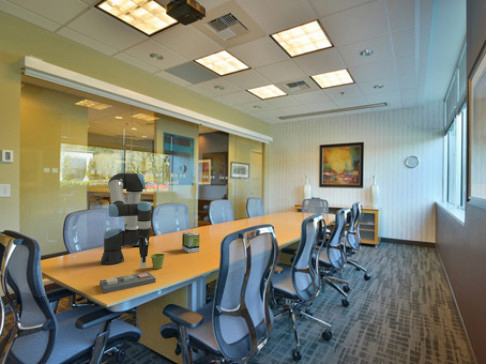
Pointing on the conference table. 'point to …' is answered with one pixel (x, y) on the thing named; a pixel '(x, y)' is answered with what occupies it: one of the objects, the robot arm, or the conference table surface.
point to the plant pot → (157, 260)
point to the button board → (127, 283)
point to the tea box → (190, 242)
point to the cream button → (111, 281)
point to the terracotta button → (143, 275)
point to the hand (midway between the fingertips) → (143, 267)
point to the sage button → (127, 278)
